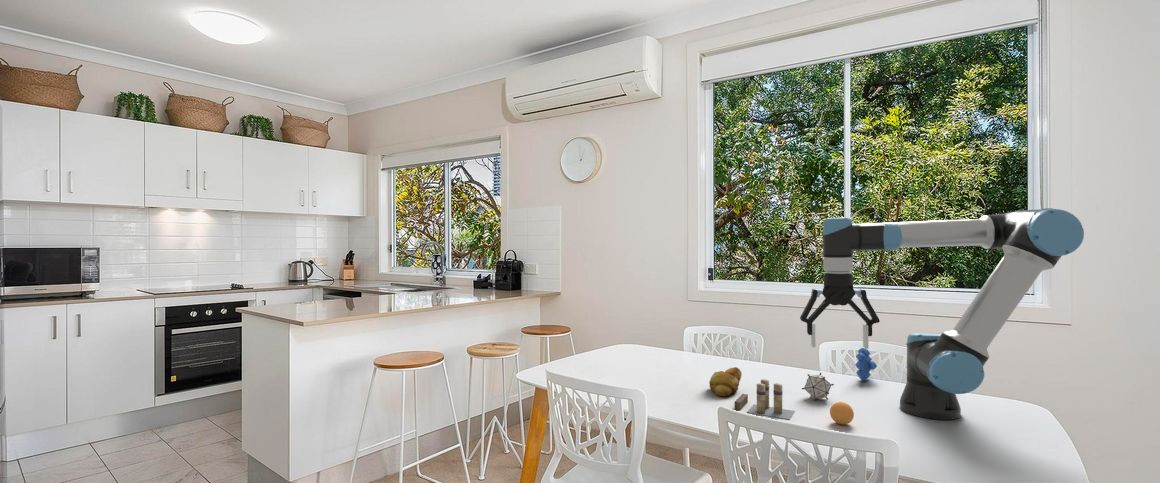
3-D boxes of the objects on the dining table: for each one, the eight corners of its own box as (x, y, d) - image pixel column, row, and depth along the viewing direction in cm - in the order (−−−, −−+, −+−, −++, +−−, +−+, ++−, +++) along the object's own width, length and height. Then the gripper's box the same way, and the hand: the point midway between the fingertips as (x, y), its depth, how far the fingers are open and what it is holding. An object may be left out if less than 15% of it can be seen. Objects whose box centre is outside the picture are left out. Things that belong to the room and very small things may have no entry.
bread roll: (732, 400, 172) (732, 375, 172) (702, 395, 177) (702, 371, 177) (743, 390, 183) (743, 366, 183) (715, 385, 188) (715, 362, 188)
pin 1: (766, 412, 160) (766, 384, 160) (764, 415, 158) (764, 386, 158) (757, 411, 161) (757, 383, 161) (755, 413, 159) (755, 385, 159)
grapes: (872, 386, 185) (873, 351, 184) (851, 383, 189) (851, 349, 189) (881, 379, 193) (881, 346, 193) (860, 376, 198) (860, 343, 198)
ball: (854, 422, 152) (854, 401, 152) (852, 429, 147) (852, 407, 146) (831, 418, 155) (831, 397, 155) (828, 425, 150) (828, 403, 150)
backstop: (747, 402, 170) (747, 394, 170) (739, 410, 162) (739, 402, 162) (742, 401, 170) (742, 393, 170) (734, 409, 163) (734, 401, 163)
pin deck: (794, 411, 161) (794, 410, 161) (789, 419, 154) (789, 419, 154) (753, 404, 167) (753, 404, 167) (746, 412, 160) (746, 411, 160)
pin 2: (770, 407, 164) (770, 380, 164) (768, 410, 162) (768, 382, 162) (761, 406, 166) (761, 378, 165) (759, 408, 164) (759, 380, 163)
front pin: (783, 412, 160) (783, 384, 160) (781, 415, 158) (781, 386, 158) (774, 411, 161) (774, 382, 161) (772, 413, 159) (772, 385, 159)
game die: (823, 412, 171) (838, 392, 165) (797, 401, 173) (811, 381, 167) (823, 391, 178) (838, 372, 172) (798, 381, 180) (811, 361, 174)
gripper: (883, 270, 153) (884, 345, 154) (789, 271, 160) (790, 342, 160) (891, 273, 146) (892, 351, 147) (792, 273, 153) (793, 348, 153)
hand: (839, 347), depth 153 cm, fingers open, 13 cm apart
